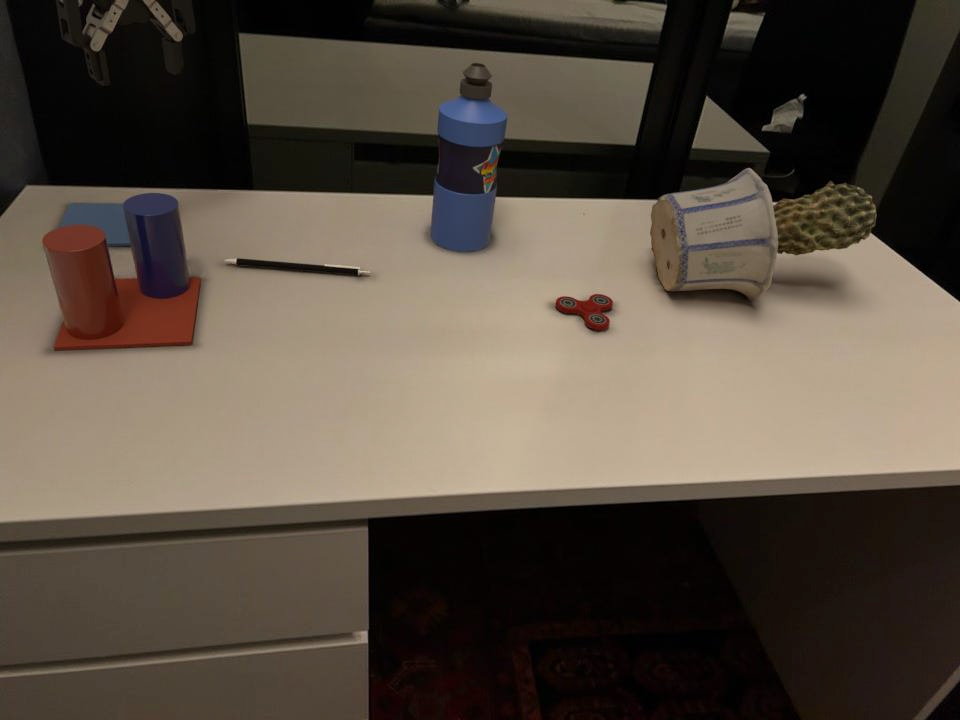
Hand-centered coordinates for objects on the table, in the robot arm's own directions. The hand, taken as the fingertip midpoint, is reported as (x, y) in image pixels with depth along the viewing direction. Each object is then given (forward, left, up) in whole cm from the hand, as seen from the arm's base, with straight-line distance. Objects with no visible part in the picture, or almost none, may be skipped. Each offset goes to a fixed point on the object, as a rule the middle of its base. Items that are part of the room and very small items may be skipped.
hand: (139, 78), depth 85 cm
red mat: (-2, -15, -23) cm, 27 cm away
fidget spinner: (+54, -19, -23) cm, 61 cm away
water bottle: (+41, +3, -23) cm, 47 cm away
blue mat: (-8, +7, -23) cm, 25 cm away
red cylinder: (-6, -18, -22) cm, 29 cm away
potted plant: (+80, -13, -23) cm, 84 cm away
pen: (+17, -6, -23) cm, 29 cm away
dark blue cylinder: (+1, -10, -22) cm, 24 cm away
